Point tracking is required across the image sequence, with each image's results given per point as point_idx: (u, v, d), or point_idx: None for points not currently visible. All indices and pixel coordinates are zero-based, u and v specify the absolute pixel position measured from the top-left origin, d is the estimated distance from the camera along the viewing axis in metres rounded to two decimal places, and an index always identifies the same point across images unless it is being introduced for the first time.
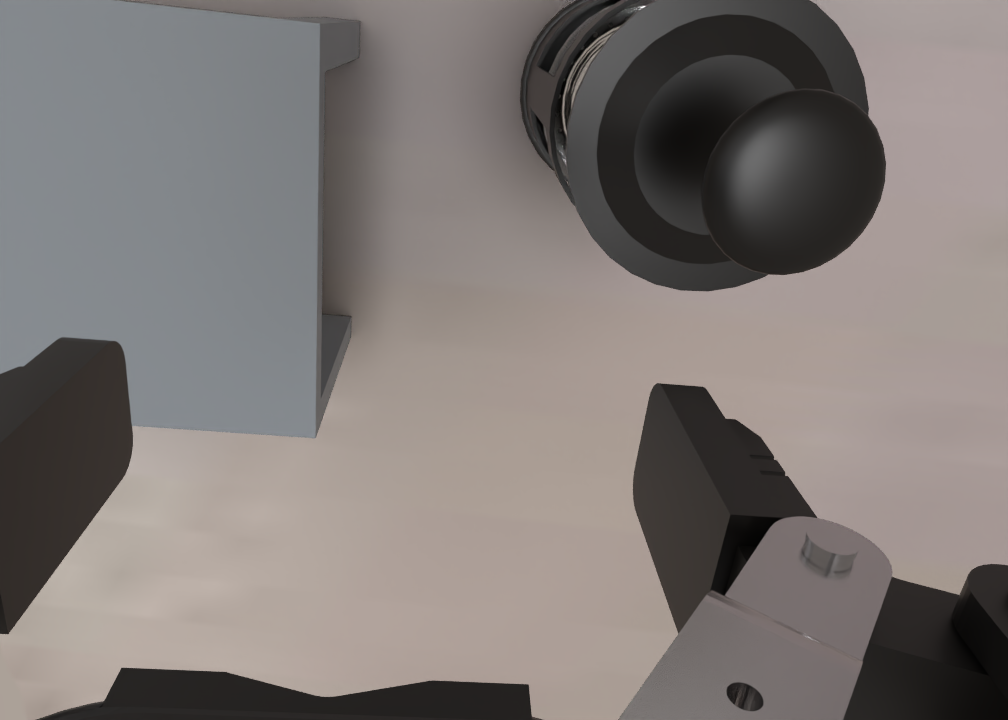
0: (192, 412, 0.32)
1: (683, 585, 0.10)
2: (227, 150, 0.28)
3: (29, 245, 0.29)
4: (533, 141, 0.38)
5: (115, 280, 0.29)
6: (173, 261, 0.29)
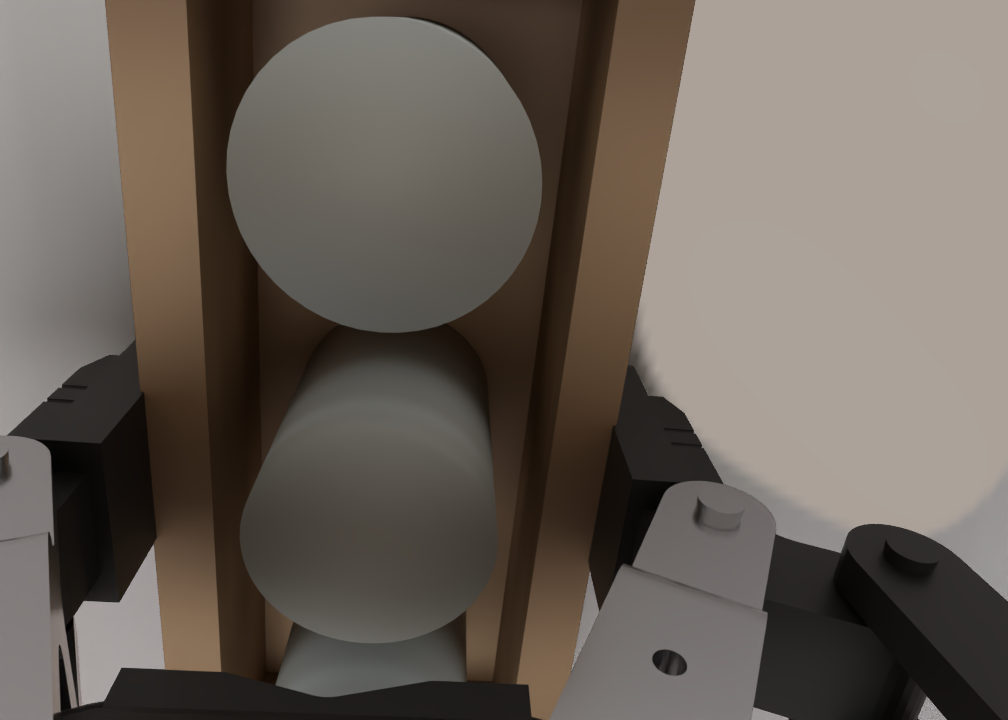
0: None
1: (600, 552, 0.10)
2: None
3: None
4: None
5: None
6: None
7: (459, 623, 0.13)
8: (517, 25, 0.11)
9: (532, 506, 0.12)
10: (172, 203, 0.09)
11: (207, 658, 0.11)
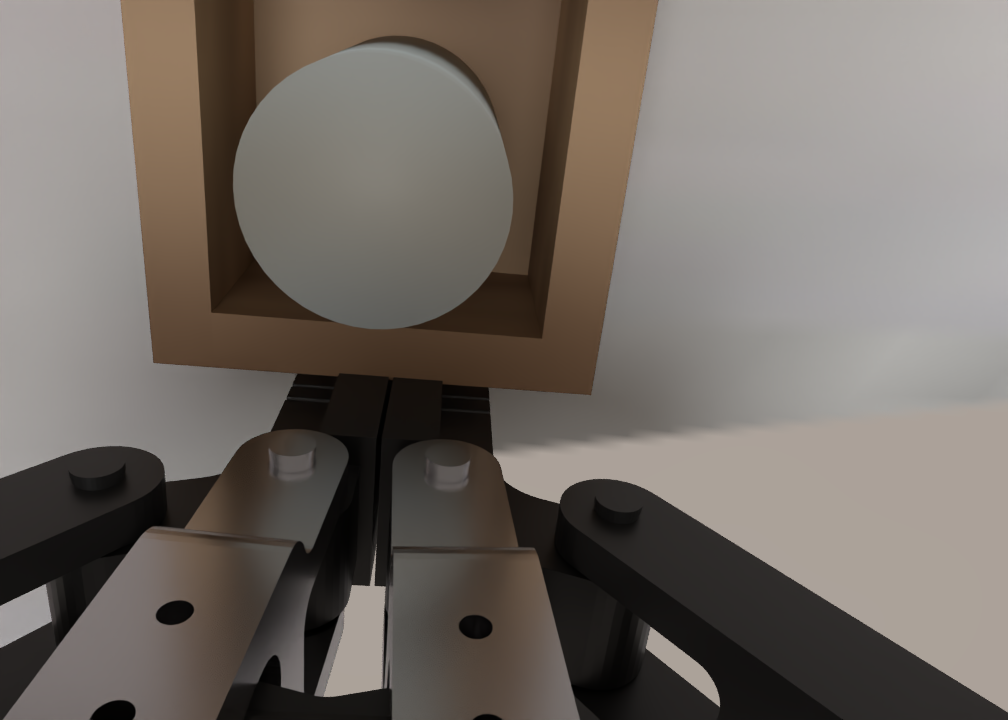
0: None
1: None
2: None
3: None
4: None
5: None
6: None
7: (494, 115, 0.11)
8: None
9: None
10: None
11: (181, 68, 0.09)
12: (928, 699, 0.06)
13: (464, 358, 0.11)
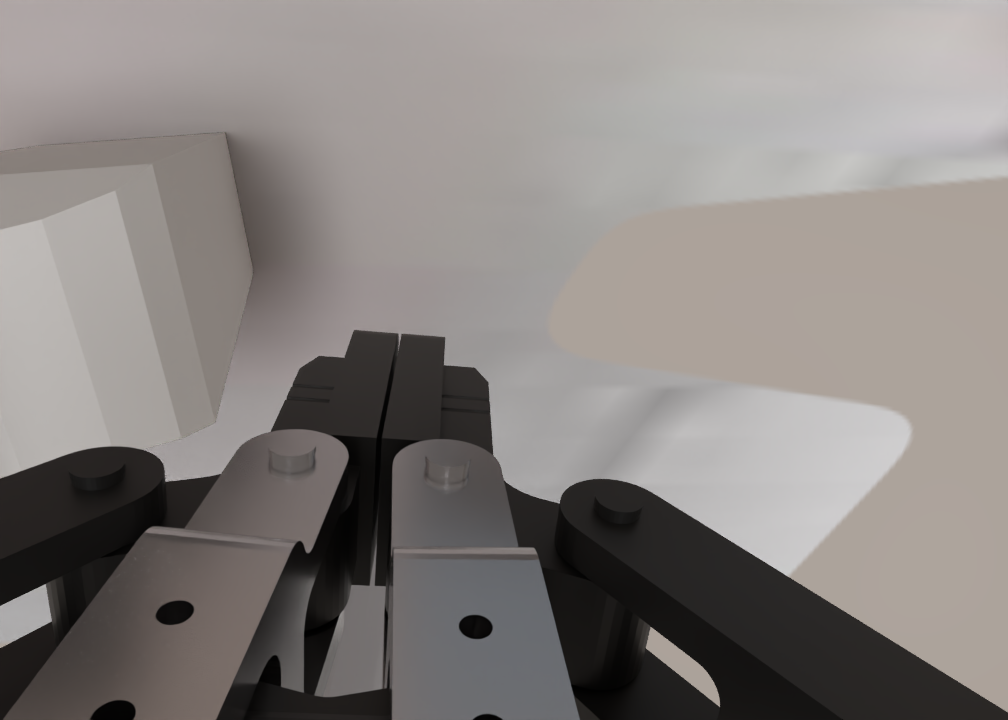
0: None
1: None
2: None
3: None
4: None
5: None
6: None
7: None
8: None
9: None
10: None
11: None
12: (929, 698, 0.06)
13: None
